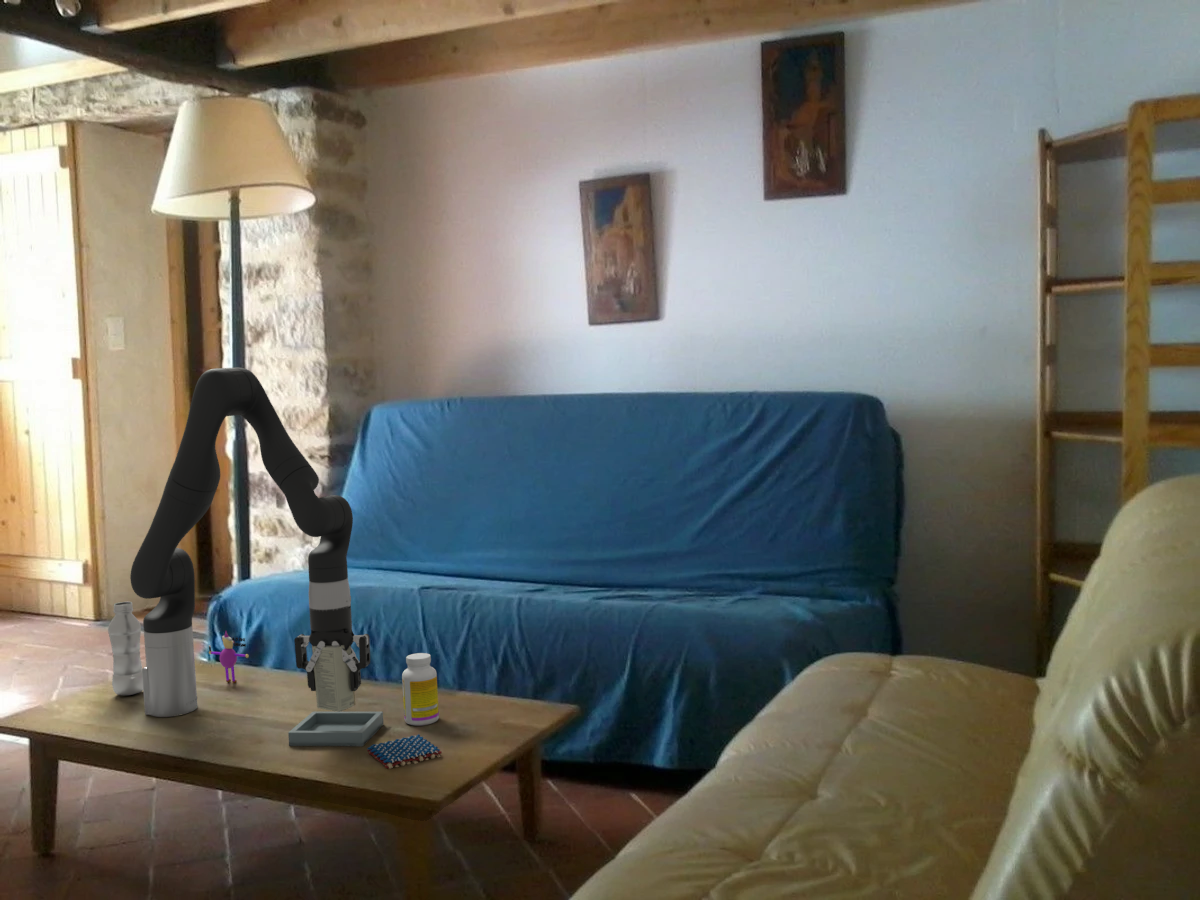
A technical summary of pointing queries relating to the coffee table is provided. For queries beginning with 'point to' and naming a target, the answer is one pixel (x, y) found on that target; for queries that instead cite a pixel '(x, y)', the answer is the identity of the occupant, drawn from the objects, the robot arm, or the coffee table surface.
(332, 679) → the skincare box
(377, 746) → the woven mat
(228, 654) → the wizard figurine
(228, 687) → the coffee table surface
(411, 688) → the supplement bottle
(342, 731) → the tray
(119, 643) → the plastic bottle
